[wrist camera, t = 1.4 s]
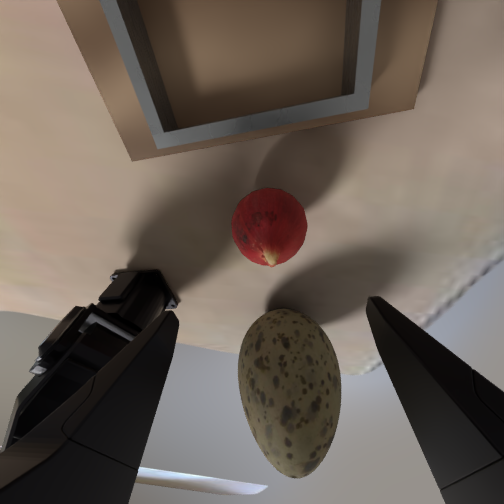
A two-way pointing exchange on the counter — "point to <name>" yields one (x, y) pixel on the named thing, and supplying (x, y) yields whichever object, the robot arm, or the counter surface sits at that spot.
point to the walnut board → (249, 61)
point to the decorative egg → (290, 390)
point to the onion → (269, 226)
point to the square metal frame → (167, 133)
